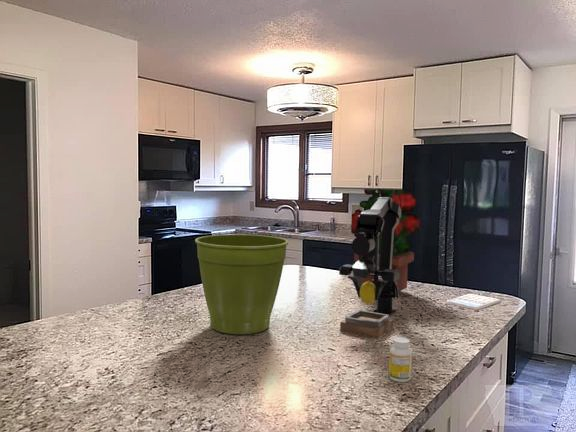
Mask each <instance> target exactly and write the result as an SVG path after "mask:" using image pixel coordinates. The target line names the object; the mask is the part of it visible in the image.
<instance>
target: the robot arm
mask: <svg viewBox="0 0 576 432" xmlns="http://www.w3.org/2000/svg"><path fill="white" fill-rule="evenodd" d="M399 218H401V208H400V206H399V204H397V203H395V202H394V201H393V200H392V198H390V197H379V198H377V201H376V203H375V204H374V205H373V206H372V208H371V209H370V210H365V211H364V210H362V211H361V213H360V215H359V216H358V219H357V223H356V228H355V232H354V233H355V234H358V237H355V238H354V239H353V241H352V242H351V249H352V251H353V252H354V254H355V253H356V254H357V255H359V257H358V261H357V262H354V263H353V264H349V263H346V264H343V265H341V266H340V267H339V269H338V271H339V272H338V275H340V276H346V277H347V279H350V280H351V282H352V283H353V285H354V288H355V292H356V294H357V297H358V299H361V298H360V287H361V285H362V278H367V277H368V275H370V276H374V279H373V281H372V283H373V284H374V285H375V286H376V294H375V301H376V309H375V310H373V311H372V312H375V313H381V314H387V315H389V316H391V315H392V314H394V313H396V309H393V305H394V299H396V298H398V299H399V294H400V293H398V286H397V283H396V282H395V281H396V280H398V279H399V272H398V270H392V254H393V239H394V229H395V228H396V226H397V225H398V224H399ZM380 232H381V246H380V254H378V251H379V235H380ZM354 233H353V234H354ZM378 257H380V261H379V266H378Z"/></svg>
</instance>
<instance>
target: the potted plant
mask: <svg viewBox="0 0 576 432" xmlns="http://www.w3.org/2000/svg"><path fill="white" fill-rule="evenodd" d="M363 190H364V191H363V192H364V194H365V195H368V196H369V195H371V196H370V197H368V199H367V200H361V201H359V207H360V208H362V209H363V211H365V210H370V209H371V208H372V206H373V205H374V204H375V203H376V201H377V198H379V197H390V198H392V200H393V201H394V202H395V203H397V204H399V206H400V208H401V218H399V224H398V225H397V226H396V228H395V229H394V239H393V254H392V270H398V272H399V279H398V280H396V281H395V282H396V283H397V286H398V293H399V294H401V293H402V291H403V290H405V289H407V288H408V275H409V274H408V269H409V264H410V263H412V262H414V261H415V252H412V251H410V249H411V248H412V245H411V243H409V242H408V238H410V237H411V236H412V234H414V233H416V230H417V232H418V233H419V232H420V215H418V216H417V215H416V213H415V214H414V213H411V212H413V209H415V208H417V205H418V199H417V197H415V196H414V195H413V193H412V191H413V189H393V188H392V189H389V188H388V189H384V188H364V189H363ZM361 212H362V210H361V209H356V210H355V211H354V213H352V214H351V223H350V224H351V226H350V227H351V229H350V233H351V234H353V235H354V237H355V238H357V237H358V234H355V233H354V232H355V228H356V223H357V219H358V216H359V215H360V213H361ZM380 246H381V232H380V235H379V251H378V254H380ZM408 250H409V251H408ZM353 255H354V257H353V258H354V260H353V261H354V263H356V262H357V261H358V257H359V255H357V254H356V253H355V252H354V254H353ZM379 261H380V257H378V266H379ZM373 279H374V276H370V275H368V277H367V278H362V284H363V283H365V282H367V281H370V282H372V281H373Z"/></svg>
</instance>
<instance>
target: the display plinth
mask: <svg viewBox="0 0 576 432" xmlns="http://www.w3.org/2000/svg"><path fill="white" fill-rule="evenodd" d="M339 323H340V325H339V326H340V327H339V332H341V333H347V334H353V335H357V336H363V337H367V338H372V339H377V340H379V339H380V338H382V337H383V336H385V335H386V334H387V333H389V332H390V331H392V330H393V329H394V319H392V318H390V315H387V314H381V313H375V312H373V311H369V310H368V311H367V310H365V309H364V310H363V309H359V310H355V311H352V312H350V313H349V314H347V315H345V319H344V320H341V321H340V322H339ZM384 334H385V335H384Z"/></svg>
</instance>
